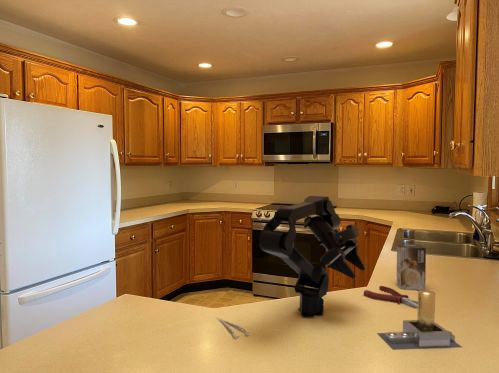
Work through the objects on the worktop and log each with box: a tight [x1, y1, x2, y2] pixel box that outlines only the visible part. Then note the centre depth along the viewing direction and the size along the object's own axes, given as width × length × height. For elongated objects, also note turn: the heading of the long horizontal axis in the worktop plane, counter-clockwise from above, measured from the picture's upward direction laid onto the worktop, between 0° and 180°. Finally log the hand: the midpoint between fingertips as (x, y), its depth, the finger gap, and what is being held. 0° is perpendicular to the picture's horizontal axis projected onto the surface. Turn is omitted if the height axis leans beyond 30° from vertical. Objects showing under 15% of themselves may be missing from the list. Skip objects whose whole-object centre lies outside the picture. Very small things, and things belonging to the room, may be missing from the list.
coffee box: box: [395, 243, 427, 291], centre depth 138 cm, size 9×6×16 cm
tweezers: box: [217, 318, 250, 340], centre depth 103 cm, size 18×5×2 cm, turn 32°
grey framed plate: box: [385, 319, 456, 348], centre depth 93 cm, size 17×8×4 cm, turn 95°
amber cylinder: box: [416, 289, 436, 332], centre depth 93 cm, size 4×4×12 cm
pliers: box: [363, 285, 418, 309], centre depth 124 cm, size 12×20×3 cm, turn 35°
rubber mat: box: [376, 332, 463, 351], centre depth 93 cm, size 18×9×1 cm, turn 95°
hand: (359, 273), depth 108 cm, fingers open, 9 cm apart
